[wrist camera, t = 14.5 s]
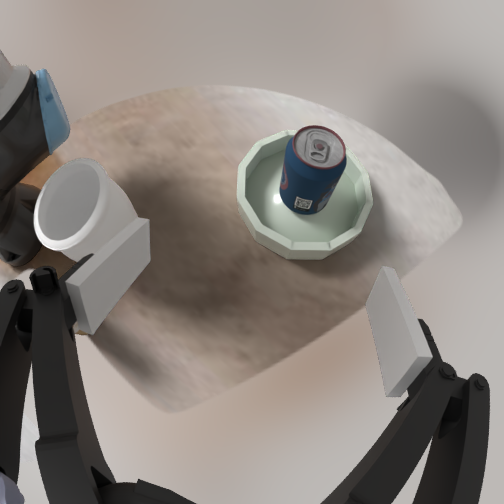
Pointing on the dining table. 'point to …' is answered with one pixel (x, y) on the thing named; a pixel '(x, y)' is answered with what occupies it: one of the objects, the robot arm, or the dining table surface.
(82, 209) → the jar
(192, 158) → the dining table surface
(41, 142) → the robot arm
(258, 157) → the bowl
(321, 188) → the soda can
